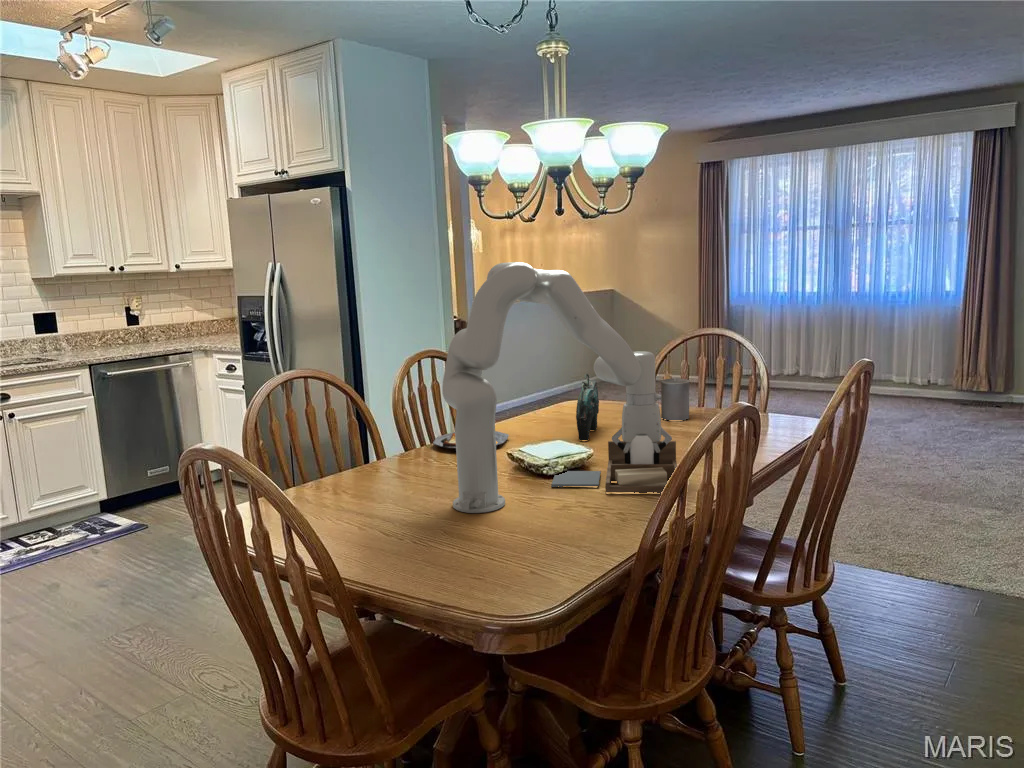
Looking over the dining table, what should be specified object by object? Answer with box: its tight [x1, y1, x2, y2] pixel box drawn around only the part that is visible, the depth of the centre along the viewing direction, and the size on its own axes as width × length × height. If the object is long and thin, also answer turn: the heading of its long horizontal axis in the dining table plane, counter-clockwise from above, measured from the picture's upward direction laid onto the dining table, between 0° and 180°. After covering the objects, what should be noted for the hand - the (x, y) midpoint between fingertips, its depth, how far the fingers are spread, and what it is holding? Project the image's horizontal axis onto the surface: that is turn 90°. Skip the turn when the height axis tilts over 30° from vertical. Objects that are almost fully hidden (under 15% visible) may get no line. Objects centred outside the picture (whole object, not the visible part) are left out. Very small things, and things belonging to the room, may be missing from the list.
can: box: [629, 435, 655, 464], centre depth 198 cm, size 6×6×12 cm
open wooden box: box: [605, 440, 678, 494], centre depth 194 cm, size 22×18×8 cm
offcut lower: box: [617, 483, 667, 486], centre depth 190 cm, size 5×12×2 cm, turn 86°
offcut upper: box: [615, 467, 667, 485], centre depth 189 cm, size 5×12×2 cm, turn 92°
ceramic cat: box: [575, 373, 600, 441], centre depth 247 cm, size 20×6×20 cm, turn 164°
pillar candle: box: [660, 377, 690, 421], centre depth 265 cm, size 10×10×15 cm
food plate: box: [432, 430, 510, 449], centre depth 243 cm, size 25×23×4 cm
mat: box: [551, 470, 602, 487], centre depth 198 cm, size 12×12×1 cm
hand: (642, 465), depth 198 cm, fingers closed on can, 6 cm apart
